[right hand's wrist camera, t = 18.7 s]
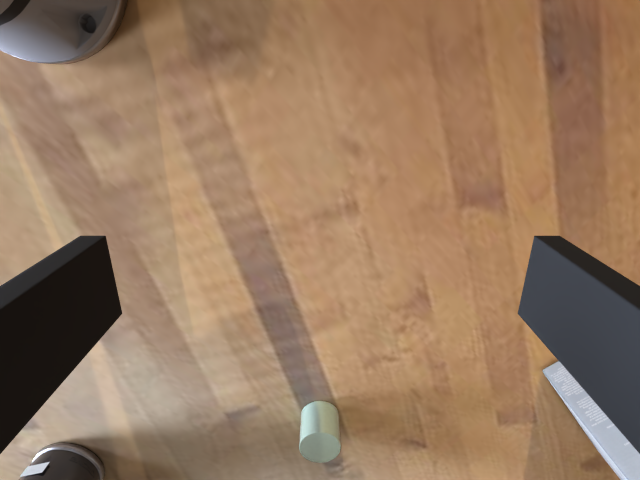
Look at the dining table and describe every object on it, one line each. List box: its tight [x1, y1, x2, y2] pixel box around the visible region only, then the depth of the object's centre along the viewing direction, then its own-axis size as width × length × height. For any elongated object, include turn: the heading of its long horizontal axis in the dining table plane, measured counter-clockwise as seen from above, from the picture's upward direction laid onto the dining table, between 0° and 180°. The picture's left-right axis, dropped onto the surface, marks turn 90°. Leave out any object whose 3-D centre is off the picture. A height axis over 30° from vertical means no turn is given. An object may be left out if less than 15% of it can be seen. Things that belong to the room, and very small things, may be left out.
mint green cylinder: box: [299, 401, 341, 463], centre depth 49 cm, size 5×5×5 cm
